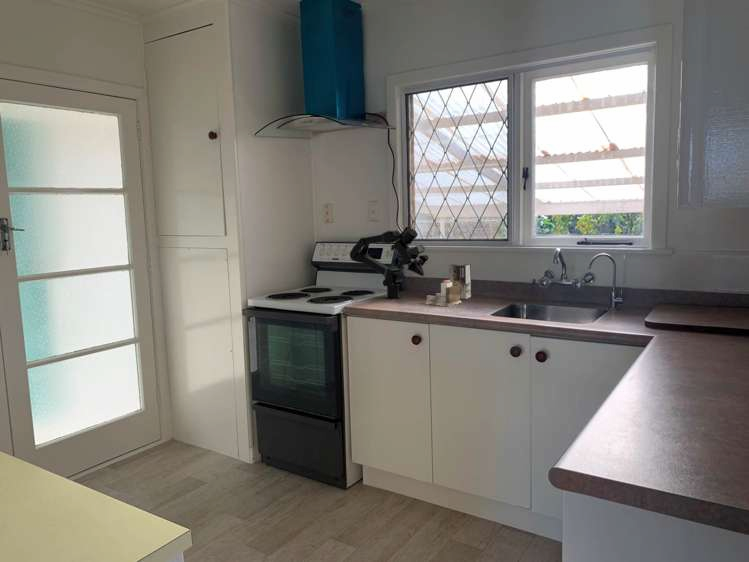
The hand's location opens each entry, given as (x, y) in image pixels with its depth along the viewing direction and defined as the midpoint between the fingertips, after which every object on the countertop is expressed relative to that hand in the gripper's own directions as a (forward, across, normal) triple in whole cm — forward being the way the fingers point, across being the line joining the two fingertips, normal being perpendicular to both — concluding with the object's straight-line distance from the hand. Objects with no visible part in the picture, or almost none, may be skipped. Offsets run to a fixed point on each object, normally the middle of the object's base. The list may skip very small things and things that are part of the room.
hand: (423, 275), depth 275 cm
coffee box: (+15, +18, +3) cm, 24 cm away
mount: (+17, 0, +1) cm, 17 cm away
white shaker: (+17, 0, -1) cm, 17 cm away
